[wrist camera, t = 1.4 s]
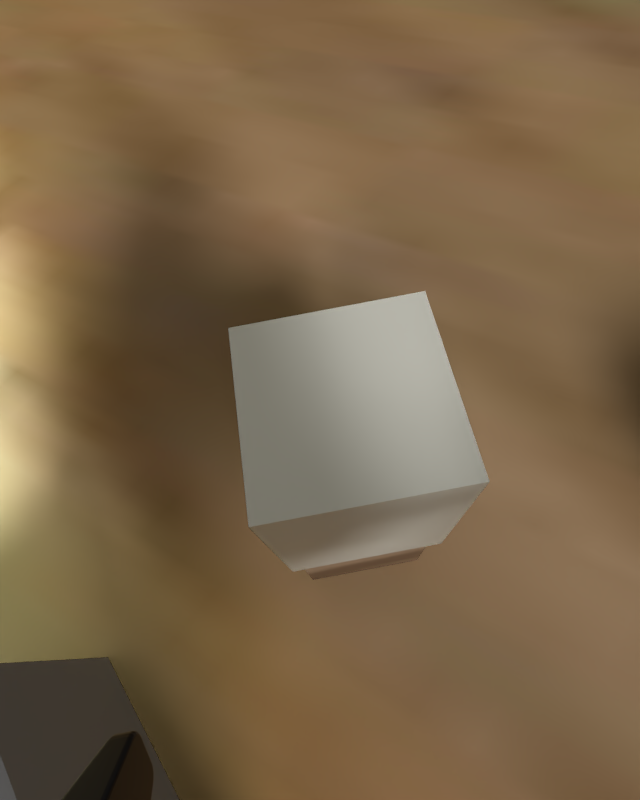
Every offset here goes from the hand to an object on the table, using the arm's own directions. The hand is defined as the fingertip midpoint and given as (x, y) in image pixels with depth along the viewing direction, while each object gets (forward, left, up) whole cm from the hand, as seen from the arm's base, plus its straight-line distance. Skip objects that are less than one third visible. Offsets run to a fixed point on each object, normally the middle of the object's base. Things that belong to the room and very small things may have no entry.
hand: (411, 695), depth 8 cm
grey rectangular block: (+5, -3, -7) cm, 9 cm away
